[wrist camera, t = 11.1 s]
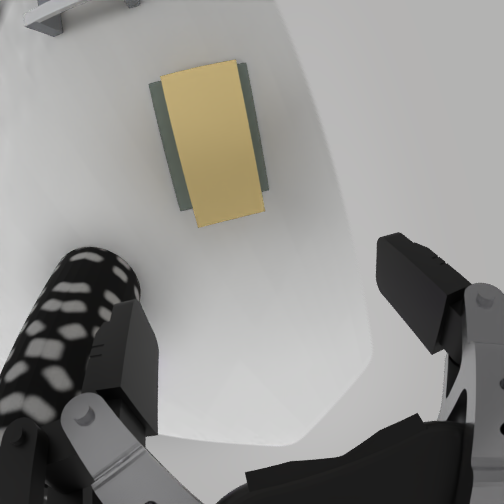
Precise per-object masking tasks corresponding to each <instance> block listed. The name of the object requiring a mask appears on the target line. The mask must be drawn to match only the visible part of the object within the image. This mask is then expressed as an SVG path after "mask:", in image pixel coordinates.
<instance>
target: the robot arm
mask: <svg viewBox="0 0 504 504" xmlns="http://www.w3.org/2000/svg"><path fill="white" fill-rule="evenodd" d="M376 262H377V263H376V281H377V285H378V288H379V290H380V292H381V293H382V295H383V296H384V297H385V298H386V299H387V300H388V302H389V303H390V304H391V305H392V306H393V307H394V309H395V310H396V311H397V312H398V314H399V315H400V316H401V317H402V318H403V320H404V321H405V322H406V323H407V324H408V326H409V327H410V328H411V329H412V331H413V332H414V333H415V334H416V336H417V337H418V338H419V339H420V341H421V342H422V343H423V344H424V346H425V347H426V348H427V349H428V351H429V352H430V353H431V354H432V355H433V354H435V353H437V352H439V351H440V350H443V349H445V350H446V352H447V355H446V358H445V369H444V382H443V394H442V403H441V409H440V413H439V416H438V419H437V421H430V422H423V421H422V420H421V418H420V416H419V415H418V413H416V414H414V415H412V416H411V417H408V418H406V419H404V420H402V421H400V422H397V423H395V424H393V425H391V426H388V427H386V428H384V429H382V430H380V431H378V432H377V433H375V434H374V435H373V436H371V437H370V438H368V439H367V440H366V441H364V442H363V443H361V444H360V445H358V446H357V447H355V448H354V449H352V450H351V451H349V452H348V453H346V454H345V455H343V456H340V457H336V458H326V459H316V460H304V461H290V462H286V463H282V464H279V465H275V466H271V467H267V468H263V469H258V470H254V471H249V472H245V475H246V479H247V483H246V484H244V485H241V486H239V487H238V488H236V489H234V490H233V491H231V492H230V493H228V494H227V495H226V496H224V497H223V498H221V500H219V501H218V502H217V503H216V504H504V294H503V293H502V292H501V290H499V289H498V288H497V287H495V286H493V285H490V284H486V283H475V284H471V283H470V282H469V281H467V280H466V279H465V278H464V277H463V276H462V275H461V274H459V273H458V272H457V271H456V270H454V269H453V268H452V267H451V266H450V265H448V264H446V263H445V261H444V260H442V259H441V258H440V257H438V256H437V255H436V254H435V253H434V252H432V251H431V250H430V249H429V248H427V247H425V246H422V245H420V244H417V243H413V242H412V241H410V240H409V239H408V238H407V237H405V236H404V235H403V234H401V233H399V232H398V233H394V234H391V235H387V236H383V237H380V238H379V239H378V241H377V260H376ZM92 347H93V348H92V349H91V353H90V359H89V361H88V365H87V369H86V373H85V378H84V382H83V387H82V391H81V394H80V395H78V396H76V397H74V398H73V399H71V400H70V401H69V402H68V403H67V404H66V406H65V407H64V409H63V411H62V414H61V419H59V420H57V421H54V422H51V423H49V424H46V425H44V426H41V427H39V426H38V425H37V424H36V423H35V422H34V421H33V420H31V419H30V418H26V417H22V418H18V419H16V420H14V421H13V422H11V423H10V424H9V425H8V427H7V428H6V430H5V431H4V434H3V437H2V441H1V445H0V504H43V500H44V486H45V484H47V485H48V492H47V504H92V488H93V490H94V492H95V493H96V495H97V496H98V498H99V499H100V500H101V502H102V503H103V504H203V503H202V502H201V501H200V500H199V499H198V498H197V497H195V496H194V495H193V494H192V493H191V492H190V491H189V490H188V489H186V488H185V487H184V486H183V485H182V484H181V483H180V482H179V481H178V480H177V479H176V478H175V477H174V476H173V475H172V474H170V473H169V471H168V470H166V468H164V466H163V465H162V464H161V463H160V462H159V461H158V460H157V459H156V458H155V457H154V456H153V455H152V454H151V453H150V452H149V451H148V450H147V449H146V448H145V437H147V436H155V435H158V359H159V349H158V344H157V340H156V337H155V334H154V332H153V330H152V328H151V326H150V324H149V322H148V319H147V317H146V315H145V313H144V311H143V309H142V306H141V304H140V302H139V301H138V300H137V299H133V300H129V301H125V302H121V303H117V304H114V306H113V310H112V314H111V318H110V321H107V322H104V323H103V324H102V325H101V327H100V328H99V330H98V331H97V332H96V334H95V337H94V341H93V345H92Z"/></svg>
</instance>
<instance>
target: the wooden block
mask: <svg viewBox="0 0 504 504" xmlns="http://www.w3.org/2000/svg"><path fill="white" fill-rule="evenodd" d="M160 78H161V82H162V87H163V91H164V95H165V100H166V104H167V108H168V113H169V117H170V121H171V125H172V129H173V133H174V137H175V141H176V145H177V149H178V153H179V157H180V161H181V165H182V169H183V173H184V177H185V181H186V184H187V188H188V192H189V196H190V199H191V203H192V207H193V210H194V214H195V218H196V221H197V225H198V228H200V227H203V226H207V225H211V224H215V223H219V222H223V221H227V220H231V219H235V218H239V217H243V216H247V215H251V214H255V213H260V212H264V211H265V208H264V203H263V198H262V192H261V187H260V181H259V176H258V171H257V165H256V160H255V155H254V149H253V144H252V139H251V134H250V129H249V123H248V118H247V113H246V108H245V103H244V98H243V93H242V88H241V83H240V78H239V73H238V68H237V63H236V60H230V61H225V62H220V63H215V64H210V65H205V66H200V67H196V68H192V69H187V70H183V71H179V72H175V73H171V74H167V75H164V76H160Z"/></svg>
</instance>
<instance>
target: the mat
mask: <svg viewBox="0 0 504 504" xmlns="http://www.w3.org/2000/svg"><path fill="white" fill-rule="evenodd" d="M237 68H238V73H239V78H240V83H241V88H242V93H243V98H244V103H245V108H246V113H247V118H248V123H249V129H250V134H251V139H252V144H253V149H254V155H255V160H256V165H257V171H258V176H259V181H260V187H261V192H263V191H267V190H269V187H268V181H267V175H266V169H265V163H264V157H263V152H262V146H261V140H260V135H259V129H258V124H257V118H256V113H255V107H254V102H253V96H252V91H251V86H250V80H249V75H248V70H247V65H246V63H241V64H237ZM149 88H150V92H151V97H152V101H153V106H154V110H155V114H156V118H157V123H158V127H159V131H160V135H161V139H162V143H163V147H164V151H165V155H166V159H167V163H168V167H169V170H170V174H171V178H172V182H173V185H174V189H175V193H176V197H177V200H178V204H179V207H180V211H184V210H188V209H192V208H193V207H192V203H191V199H190V196H189V192H188V188H187V184H186V181H185V177H184V173H183V169H182V165H181V161H180V157H179V153H178V149H177V145H176V141H175V137H174V133H173V129H172V125H171V121H170V117H169V113H168V108H167V104H166V100H165V95H164V91H163V87H162V82H161V81H158V82H154V83H151V84H149Z"/></svg>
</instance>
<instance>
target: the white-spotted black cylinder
mask: <svg viewBox="0 0 504 504" xmlns="http://www.w3.org/2000/svg"><path fill="white" fill-rule="evenodd" d="M133 299H137V300H138V301H139V302H140V286H139V282H138V279H137V277H136V275H135V273H134V272H133V270H132V269H131V267H130V266H129V265H128V264H127V263H126V262H125V261H124V260H123V259H121V258H120V257H119V256H117V255H115V254H113V253H111V252H110V251H107V250H104V249H100V248H93V247H87V248H80V249H76V250H73V251H72V252H70V253H68V254H67V255H66V256H65V257H63V258H62V259H61V261H60V262H59V264H58V266H57V267H56V269H55V270H54V272H53V274H52V275H51V277H50V279H49V280H48V282H47V284H46V286H45V287H44V289H43V291H42V292H41V294H40V296H39V298H38V299H37V301H36V303H35V305H34V307H33V309H32V310H31V312H30V314H29V316H28V318H27V320H26V322H25V324H24V326H23V327H22V329H21V331H20V333H19V335H18V337H17V339H16V341H15V344H14V346H13V348H12V350H11V352H10V354H9V356H8V358H7V361H6V363H5V365H4V367H3V370H2V372H1V374H0V445H1V441H2V437H3V434H4V431H5V430H6V428H7V427H8V425H9V424H10V423H11V422H13V421H14V420H16V419H18V418H22V417H26V418H30V419H31V420H33V421H34V422H35V423H36V424H37V425H38V426H39V427H41V426H44V425H46V424H49V423H51V422H54V421H57V420H59V419H61V414H62V411H63V409H64V407H65V406H66V404H67V403H68V402H69V401H70V400H71V399H73V398H74V397H76V396H78V395H80V394H81V391H82V387H83V382H84V378H85V373H86V369H87V365H88V361H89V359H90V353H91V349H92V348H93V347H92V345H93V341H94V337H95V334H96V332H97V331H98V330H99V328H100V327H101V325H102V324H103V323H104V322H107V321H110V318H111V314H112V310H113V306H114V304H117V303H121V302H125V301H129V300H133ZM47 492H48V485H47V484H45V486H44V500H43V504H47ZM92 504H103V503H102V502H101V500H100V499H99V498H98V496H97V495H96V493H95V492H94V490H93V488H92Z"/></svg>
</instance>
